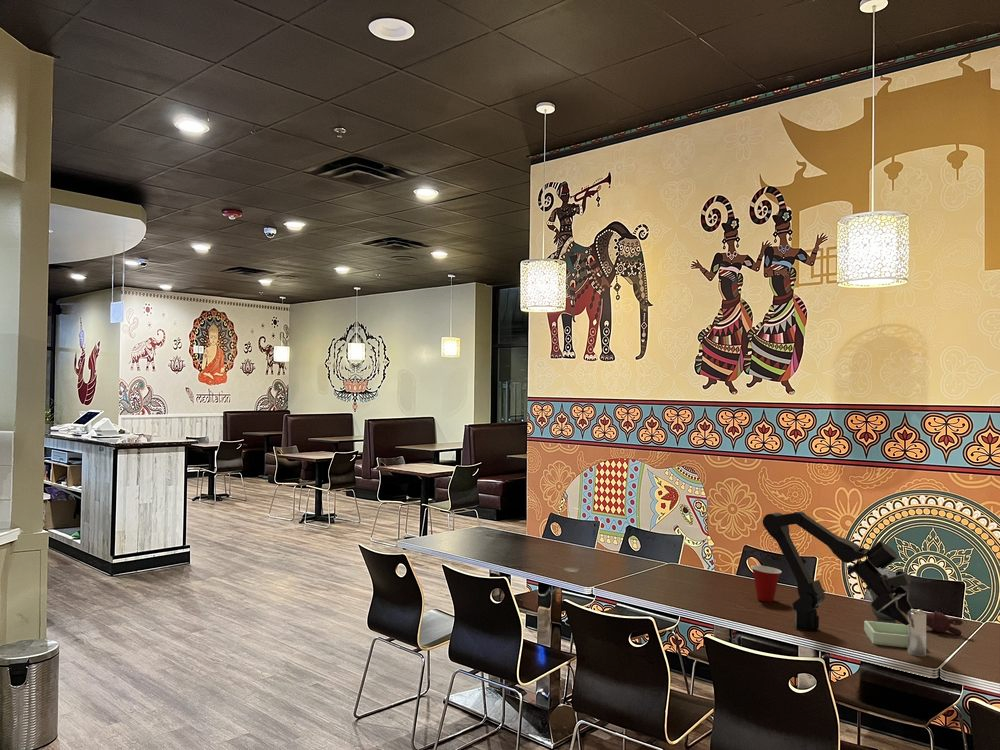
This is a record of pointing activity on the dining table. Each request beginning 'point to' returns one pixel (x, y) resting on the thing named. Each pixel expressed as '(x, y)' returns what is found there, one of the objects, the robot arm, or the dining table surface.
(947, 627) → the icecream
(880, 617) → the mortar and pestle
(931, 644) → the dining table surface
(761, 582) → the plastic cup
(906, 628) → the pale green bin
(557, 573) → the dining table surface
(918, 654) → the cylinder with three balls
